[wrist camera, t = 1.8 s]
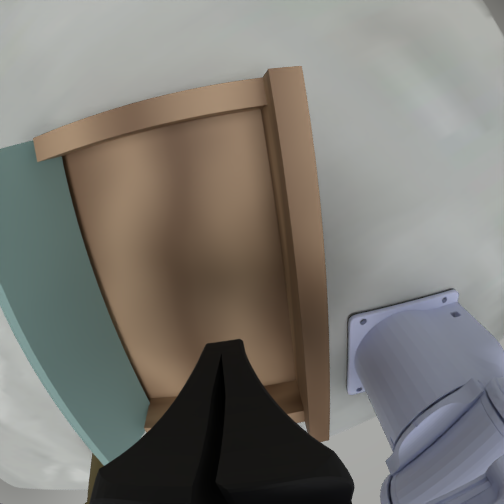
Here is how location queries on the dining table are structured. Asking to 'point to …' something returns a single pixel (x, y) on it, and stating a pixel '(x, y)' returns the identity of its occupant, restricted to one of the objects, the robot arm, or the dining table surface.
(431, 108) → the dining table surface
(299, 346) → the brown wooden drawer
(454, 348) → the robot arm
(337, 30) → the dining table surface
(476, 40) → the dining table surface
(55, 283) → the panel
